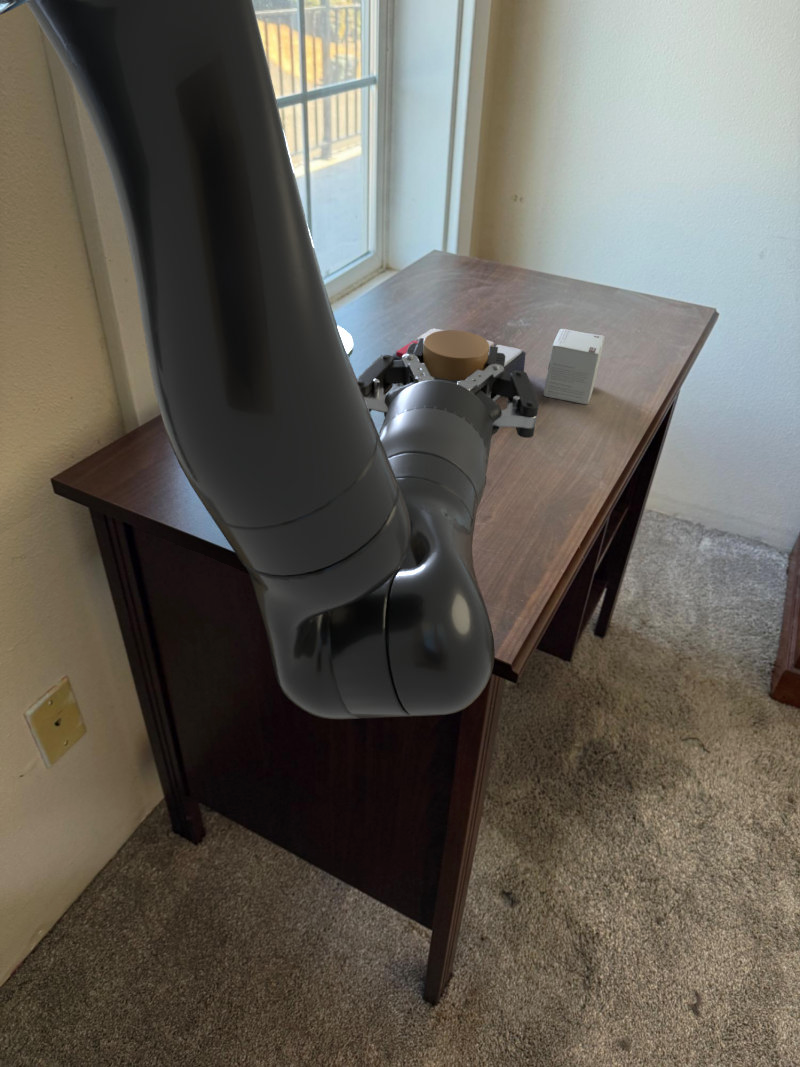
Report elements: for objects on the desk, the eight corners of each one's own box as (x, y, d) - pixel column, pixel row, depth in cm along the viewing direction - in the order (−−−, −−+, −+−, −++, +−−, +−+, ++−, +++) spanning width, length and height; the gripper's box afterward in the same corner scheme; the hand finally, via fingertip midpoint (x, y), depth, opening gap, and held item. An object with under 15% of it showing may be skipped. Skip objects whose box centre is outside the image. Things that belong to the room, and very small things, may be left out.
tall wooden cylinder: (422, 469, 62) (431, 358, 56) (410, 437, 66) (417, 330, 60) (482, 466, 63) (497, 356, 57) (466, 434, 67) (479, 329, 61)
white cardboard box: (550, 377, 103) (559, 327, 99) (594, 385, 102) (605, 334, 97) (542, 397, 99) (551, 344, 94) (588, 405, 97) (600, 353, 93)
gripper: (550, 425, 46) (552, 318, 59) (321, 396, 47) (373, 299, 60) (531, 521, 50) (536, 403, 63) (323, 493, 52) (371, 383, 65)
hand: (457, 353), depth 62 cm, fingers closed on tall wooden cylinder, 5 cm apart
